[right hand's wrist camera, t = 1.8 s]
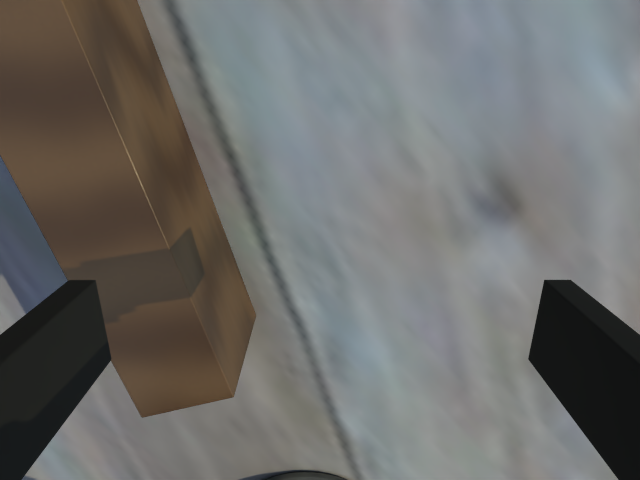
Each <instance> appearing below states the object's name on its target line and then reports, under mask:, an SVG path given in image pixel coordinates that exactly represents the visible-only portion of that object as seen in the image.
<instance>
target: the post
mask: <svg viewBox="0 0 640 480" xmlns="http://www.w3.org/2000/svg"><path fill="white" fill-rule="evenodd" d="M0 156H1V158H2V159H3V161H4V163H5V165H6V167H7V169H8V170H9V172H10V174H11V176H12V178H13V180H14V182H15V183H16V185H17V187H18V189H19V191H20V193H21V195H22V196H23V198H24V200H25V202H26V204H27V206H28V208H29V209H30V211H31V213H32V215H33V217H34V219H35V221H36V222H37V224H38V226H39V228H40V230H41V232H42V234H43V235H44V237H45V239H46V241H47V243H48V245H49V247H50V248H51V250H52V252H53V254H54V256H55V258H56V259H57V261H58V263H59V265H60V267H61V269H62V271H63V272H64V274H65V276H66V278H67V280H68V281H69V280H96V284H97V289H98V294H99V299H100V304H101V309H102V314H103V319H104V324H105V329H106V334H107V339H108V343H109V348H110V353H111V358H112V359H111V361H112V363H113V365H114V367H115V369H116V371H117V373H118V374H119V376H120V378H121V380H122V382H123V384H124V386H125V387H126V389H127V391H128V393H129V395H130V397H131V399H132V400H133V402H134V404H135V406H136V408H137V410H138V412H139V413H140V415H141V417H142V418H143V417H147V416H152V415H156V414H161V413H165V412H169V411H174V410H178V409H183V408H187V407H192V406H196V405H201V404H205V403H210V402H214V401H218V400H223V399H227V398H232V397H234V394H235V390H236V387H237V383H238V379H239V376H240V372H241V369H242V365H243V361H244V358H245V354H246V350H247V347H248V343H249V339H250V336H251V332H252V329H253V325H254V321H255V318H256V314H255V311H254V309H253V306H252V303H251V301H250V298H249V295H248V293H247V290H246V287H245V285H244V282H243V280H242V277H241V274H240V272H239V269H238V266H237V264H236V261H235V258H234V256H233V253H232V250H231V248H230V245H229V243H228V240H227V237H226V235H225V232H224V229H223V227H222V224H221V221H220V219H219V216H218V213H217V211H216V208H215V205H214V203H213V200H212V198H211V195H210V192H209V190H208V187H207V184H206V182H205V179H204V176H203V174H202V171H201V168H200V166H199V163H198V160H197V158H196V155H195V153H194V150H193V147H192V145H191V142H190V139H189V137H188V134H187V131H186V129H185V126H184V123H183V121H182V118H181V115H180V113H179V110H178V108H177V105H176V102H175V100H174V97H173V94H172V92H171V89H170V86H169V84H168V81H167V78H166V76H165V73H164V71H163V68H162V65H161V63H160V60H159V57H158V55H157V52H156V49H155V47H154V44H153V41H152V39H151V36H150V33H149V31H148V28H147V26H146V23H145V20H144V18H143V15H142V12H141V10H140V7H139V4H138V2H137V0H0Z"/></svg>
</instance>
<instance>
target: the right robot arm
mask: <svg viewBox="0 0 640 480" xmlns="http://www.w3.org/2000/svg"><path fill="white" fill-rule="evenodd" d="M111 359H112V358H111V353H110V348H109V343H108V339H107V334H106V329H105V324H104V319H103V314H102V309H101V304H100V299H99V294H98V289H97V284H96V280H69V281H68V282H66V283H65V284H64V285H62V286H61V287H60V288H59V289H57V290H56V291H55V292H54V293H52V294H51V295H50V296H49V297H47V298H46V299H45V300H44V301H42V302H41V303H40V304H39V305H37V306H36V307H35V308H33V309H32V310H31V311H30V312H28V313H27V314H26V315H25V316H23V317H22V318H21V319H20V320H18V321H17V322H16V323H15V324H13V325H12V326H11V327H10V328H8V329H7V330H6V331H5V332H3V333H2V334H1V335H0V480H22V478H23V477H24V476H25V474H26V473H27V471H28V470H29V469H30V467H31V466H32V465H33V463H34V462H35V461H36V459H37V458H38V457H39V455H40V454H41V453H42V451H43V450H44V449H45V447H46V446H47V445H48V443H49V442H50V441H51V439H52V438H53V437H54V435H55V434H56V433H57V431H58V430H59V429H60V427H61V426H62V425H63V423H64V422H65V421H66V419H67V418H68V417H69V415H70V414H71V413H72V411H73V410H74V409H75V407H76V406H77V405H78V403H79V402H80V401H81V399H82V398H83V397H84V395H85V394H86V393H87V391H88V390H89V389H90V387H91V386H92V385H93V383H94V382H95V381H96V379H97V378H98V377H99V375H100V374H101V373H102V371H103V370H104V369H105V367H106V366H107V365H108V363H109V362H110V361H111ZM528 359H529V361H530V362H531V363H532V365H533V366H534V367H535V369H536V370H537V371H538V373H539V374H540V375H541V377H542V378H543V379H544V381H545V382H546V383H547V385H548V386H549V387H550V389H551V390H552V391H553V393H554V394H555V395H556V397H557V398H558V399H559V401H560V402H561V403H562V405H563V406H564V407H565V409H566V410H567V411H568V413H569V414H570V415H571V417H572V418H573V419H574V421H575V422H576V423H577V425H578V426H579V427H580V429H581V430H582V431H583V433H584V434H585V435H586V437H587V438H588V439H589V441H590V442H591V443H592V445H593V446H594V447H595V449H596V450H597V451H598V453H599V454H600V455H601V457H602V458H603V459H604V461H605V462H606V463H607V465H608V466H609V467H610V469H611V470H612V472H613V473H614V474H615V476H616V477H617V478H618V480H640V335H639V334H638V333H637V332H635V331H634V330H633V329H632V328H630V327H629V326H628V325H627V324H625V323H624V322H623V321H622V320H620V319H619V318H618V317H617V316H615V315H614V314H613V313H612V312H610V311H609V310H608V309H607V308H605V307H604V306H603V305H601V304H600V303H599V302H598V301H596V300H595V299H594V298H593V297H591V296H590V295H589V294H588V293H586V292H585V291H584V290H583V289H581V288H580V287H579V286H578V285H576V284H575V283H574V282H572V281H571V280H544V284H543V289H542V294H541V299H540V304H539V309H538V314H537V319H536V324H535V329H534V334H533V339H532V343H531V348H530V353H529V358H528ZM266 480H346V479H343V478H340V477H337V476H333V475H329V474H323V473H315V472H296V473H288V474H283V475H278V476H275V477H271V478H268V479H266Z"/></svg>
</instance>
